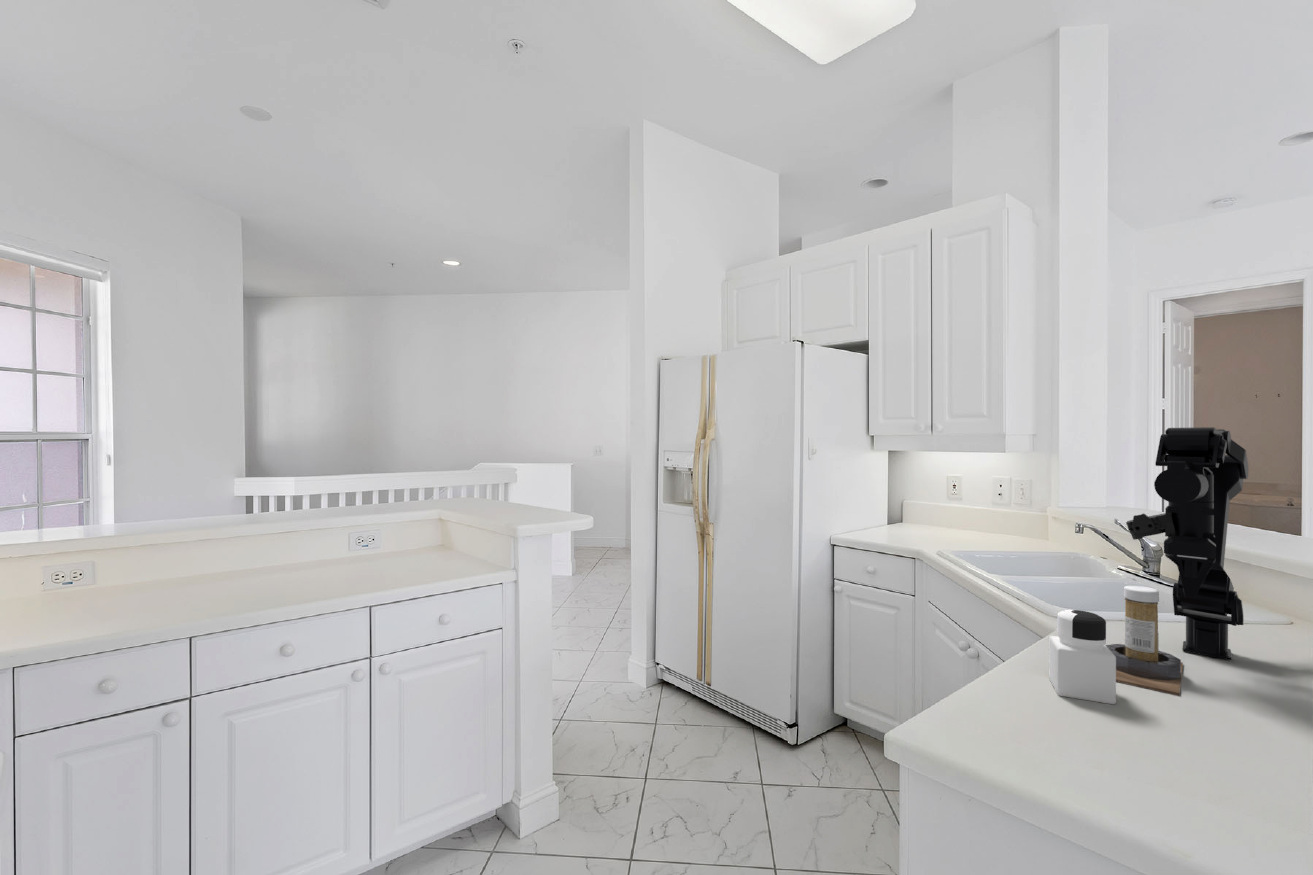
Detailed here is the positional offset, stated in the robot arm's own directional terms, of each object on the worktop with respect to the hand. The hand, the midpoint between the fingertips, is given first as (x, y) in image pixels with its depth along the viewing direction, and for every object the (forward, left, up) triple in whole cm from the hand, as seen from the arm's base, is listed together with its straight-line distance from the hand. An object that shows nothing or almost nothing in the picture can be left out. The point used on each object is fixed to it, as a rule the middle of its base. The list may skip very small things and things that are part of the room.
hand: (1190, 592), depth 100 cm
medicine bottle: (+25, -12, -13) cm, 31 cm away
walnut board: (+7, -6, -13) cm, 16 cm away
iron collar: (+7, -6, -13) cm, 16 cm away
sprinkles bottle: (+7, -6, -13) cm, 16 cm away
